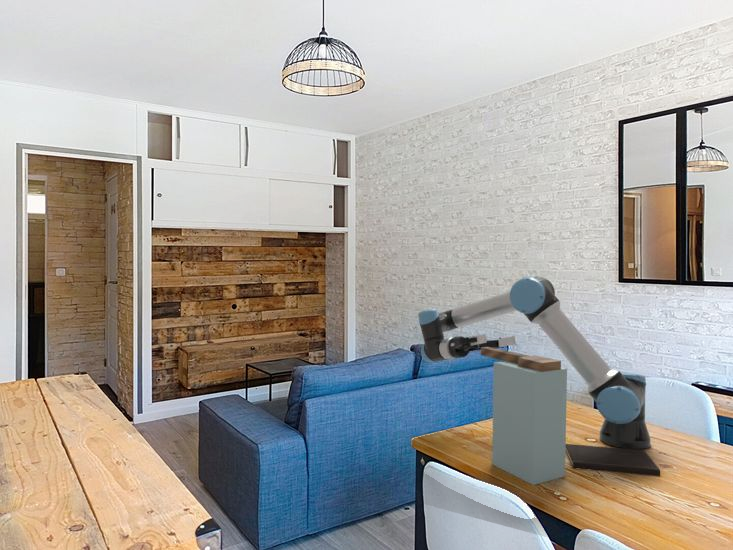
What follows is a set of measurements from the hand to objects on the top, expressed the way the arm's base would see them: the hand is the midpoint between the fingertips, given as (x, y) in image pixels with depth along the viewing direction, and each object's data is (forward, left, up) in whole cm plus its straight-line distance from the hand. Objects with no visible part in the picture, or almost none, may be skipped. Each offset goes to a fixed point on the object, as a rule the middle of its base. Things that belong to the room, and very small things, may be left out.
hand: (500, 339), depth 173 cm
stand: (-14, +18, -34) cm, 41 cm away
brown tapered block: (-9, +15, -4) cm, 18 cm away
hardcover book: (-33, -2, -35) cm, 48 cm away
